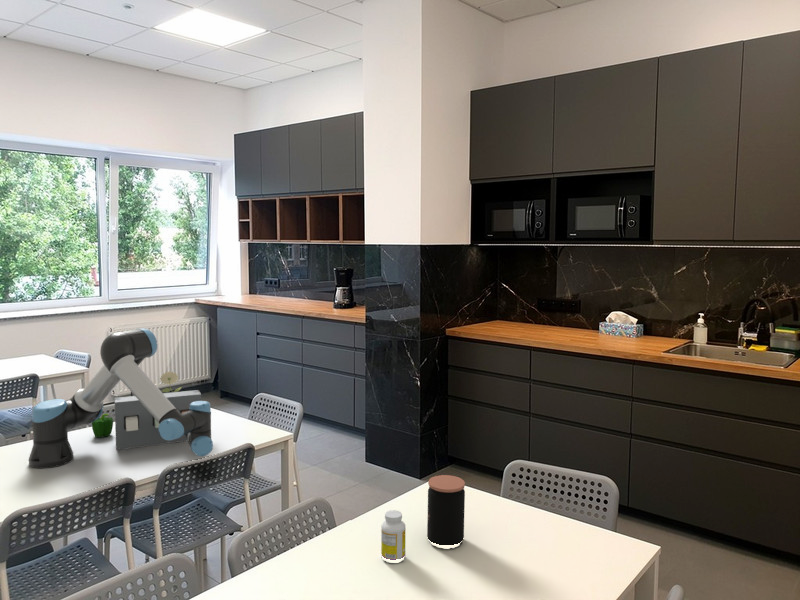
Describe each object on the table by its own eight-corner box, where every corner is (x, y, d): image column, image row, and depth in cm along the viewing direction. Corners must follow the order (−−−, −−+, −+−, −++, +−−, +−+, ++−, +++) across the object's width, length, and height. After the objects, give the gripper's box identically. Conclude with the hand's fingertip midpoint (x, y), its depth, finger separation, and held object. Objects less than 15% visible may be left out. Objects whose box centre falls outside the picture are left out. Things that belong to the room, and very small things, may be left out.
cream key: (126, 431, 243) (126, 420, 243) (125, 426, 249) (125, 416, 249) (138, 429, 245) (137, 419, 245) (137, 425, 251) (136, 415, 251)
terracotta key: (183, 424, 253) (183, 414, 253) (181, 420, 259) (181, 410, 259) (194, 423, 255) (193, 413, 255) (191, 418, 261) (191, 409, 261)
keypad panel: (116, 449, 247) (114, 402, 245) (115, 443, 254) (114, 397, 252) (201, 438, 262) (201, 394, 260) (199, 433, 269) (198, 390, 267)
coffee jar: (441, 529, 182) (442, 472, 180) (470, 540, 175) (472, 481, 173) (419, 542, 174) (420, 482, 172) (450, 554, 167) (451, 492, 165)
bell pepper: (87, 437, 262) (86, 415, 261) (102, 432, 269) (101, 410, 268) (102, 439, 259) (102, 417, 258) (117, 434, 267) (116, 412, 266)
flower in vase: (192, 419, 290) (191, 368, 288) (185, 426, 279) (184, 374, 277) (165, 419, 290) (163, 368, 287) (157, 426, 278) (155, 374, 276)
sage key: (155, 427, 248) (155, 417, 248) (154, 423, 254) (153, 413, 254) (166, 426, 250) (166, 416, 250) (165, 422, 256) (164, 412, 256)
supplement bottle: (398, 550, 169) (398, 506, 168) (409, 561, 163) (410, 516, 162) (377, 555, 166) (377, 511, 165) (387, 567, 160) (388, 521, 159)
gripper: (179, 447, 230) (173, 429, 251) (214, 442, 236) (205, 425, 257) (179, 428, 230) (172, 412, 251) (214, 424, 236) (205, 408, 257)
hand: (189, 419), depth 254 cm, fingers closed
